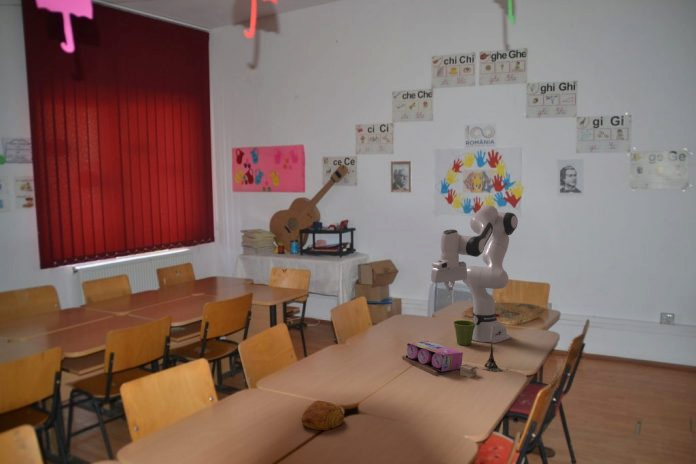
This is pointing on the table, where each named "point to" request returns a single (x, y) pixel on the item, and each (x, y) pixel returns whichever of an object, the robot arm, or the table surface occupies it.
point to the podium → (427, 368)
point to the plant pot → (464, 331)
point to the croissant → (322, 415)
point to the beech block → (468, 370)
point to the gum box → (434, 355)
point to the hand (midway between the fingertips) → (449, 290)
